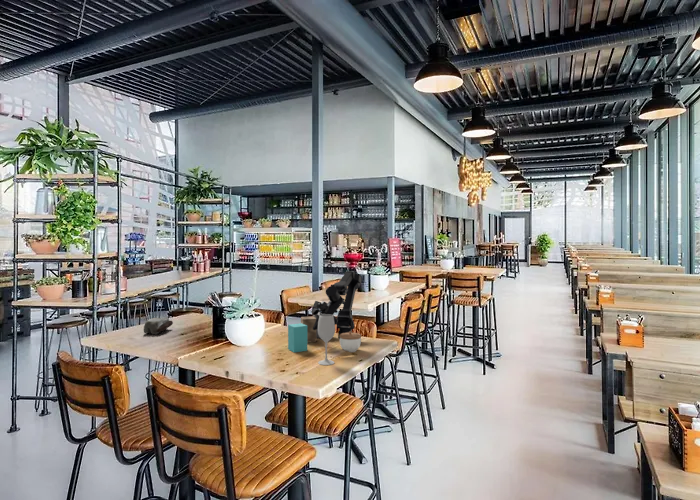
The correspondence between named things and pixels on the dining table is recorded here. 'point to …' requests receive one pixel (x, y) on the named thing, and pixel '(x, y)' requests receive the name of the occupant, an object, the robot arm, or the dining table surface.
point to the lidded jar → (350, 341)
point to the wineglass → (326, 333)
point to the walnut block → (309, 328)
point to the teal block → (297, 337)
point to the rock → (156, 325)
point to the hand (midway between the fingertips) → (313, 329)
